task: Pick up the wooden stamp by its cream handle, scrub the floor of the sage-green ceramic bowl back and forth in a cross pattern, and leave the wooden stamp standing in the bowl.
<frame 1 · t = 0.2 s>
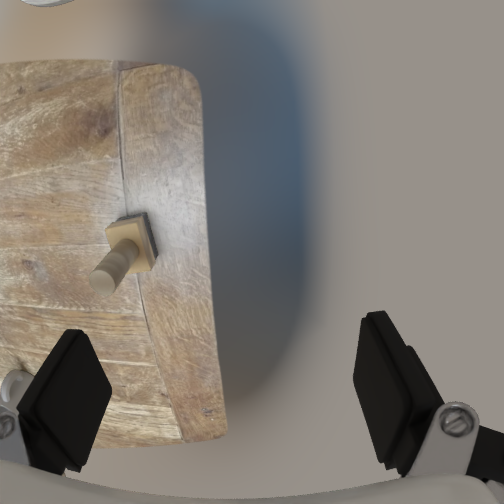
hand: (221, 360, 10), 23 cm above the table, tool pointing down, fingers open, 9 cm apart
cup: (28, 378, 43), on the table
wooden stamp: (138, 236, 32), on the table
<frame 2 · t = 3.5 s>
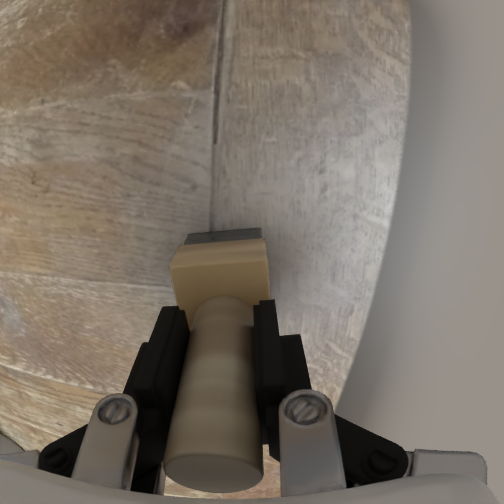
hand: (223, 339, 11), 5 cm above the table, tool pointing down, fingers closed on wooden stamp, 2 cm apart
cup: (5, 439, 25), on the table
wooden stamp: (229, 278, 15), on the table, touching gripper
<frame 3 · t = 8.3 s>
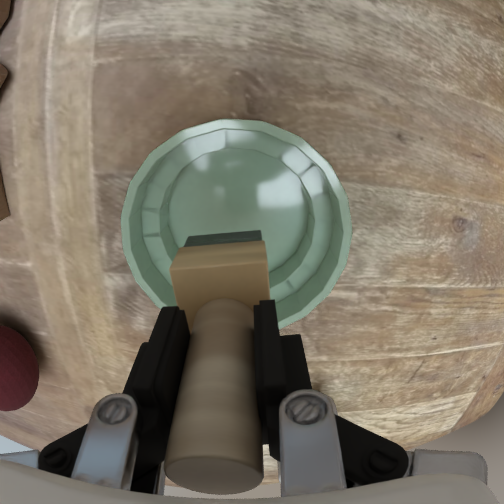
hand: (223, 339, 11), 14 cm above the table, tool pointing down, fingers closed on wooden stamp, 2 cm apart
wooden stamp: (230, 280, 15), point 10 cm above the table, touching gripper
bowl: (237, 213, 24), on the table
decorative ball: (20, 341, 30), on the table
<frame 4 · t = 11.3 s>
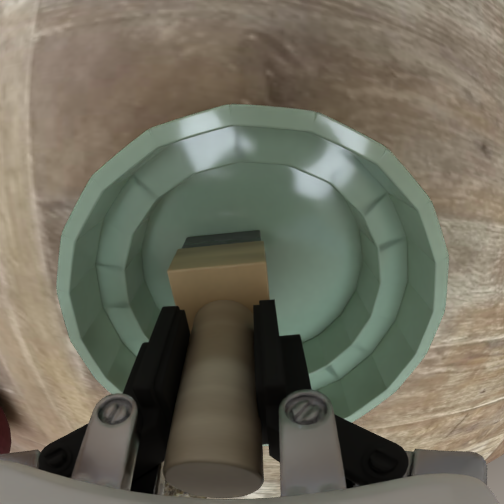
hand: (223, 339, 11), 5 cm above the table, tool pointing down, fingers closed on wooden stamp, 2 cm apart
rock: (168, 469, 24), on the table
wooden stamp: (229, 280, 15), point 1 cm above the table, touching gripper
bowl: (252, 263, 15), on the table
when the fingers open (5 cm above the table, at t = 13.3 s): wooden stamp stays where it is, resting on bowl.
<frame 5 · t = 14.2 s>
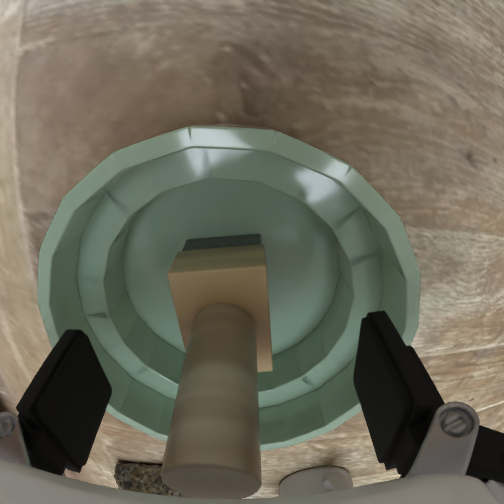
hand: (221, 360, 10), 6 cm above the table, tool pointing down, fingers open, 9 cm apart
cup: (319, 473, 25), on the table
rock: (157, 471, 25), on the table
wooden stamp: (228, 283, 15), point 1 cm above the table, touching bowl
bowl: (229, 274, 16), on the table
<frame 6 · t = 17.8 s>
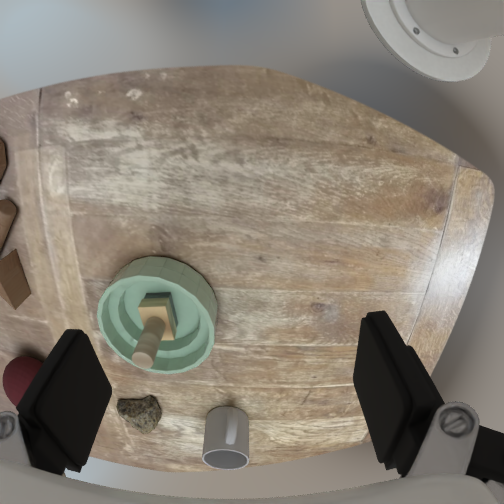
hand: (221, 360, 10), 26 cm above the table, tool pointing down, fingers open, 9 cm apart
cup: (229, 412, 49), on the table
rock: (140, 406, 49), on the table
wooden stamp: (162, 308, 40), point 1 cm above the table, touching bowl
wooden block set: (10, 219, 35), on the table
bowl: (163, 304, 40), on the table
decorative ball: (40, 365, 46), on the table
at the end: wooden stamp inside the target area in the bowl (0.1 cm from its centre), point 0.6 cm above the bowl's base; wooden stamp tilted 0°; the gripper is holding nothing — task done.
